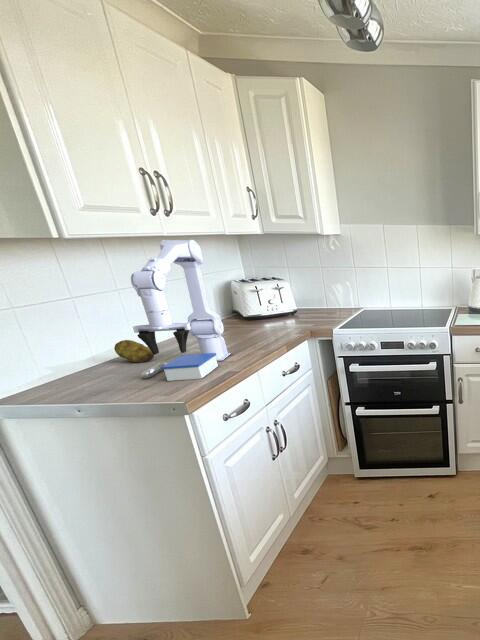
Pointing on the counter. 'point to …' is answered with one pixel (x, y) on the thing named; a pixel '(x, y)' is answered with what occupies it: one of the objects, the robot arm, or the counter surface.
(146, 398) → the counter surface
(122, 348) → the potato
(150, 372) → the spoon
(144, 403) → the counter surface
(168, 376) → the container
